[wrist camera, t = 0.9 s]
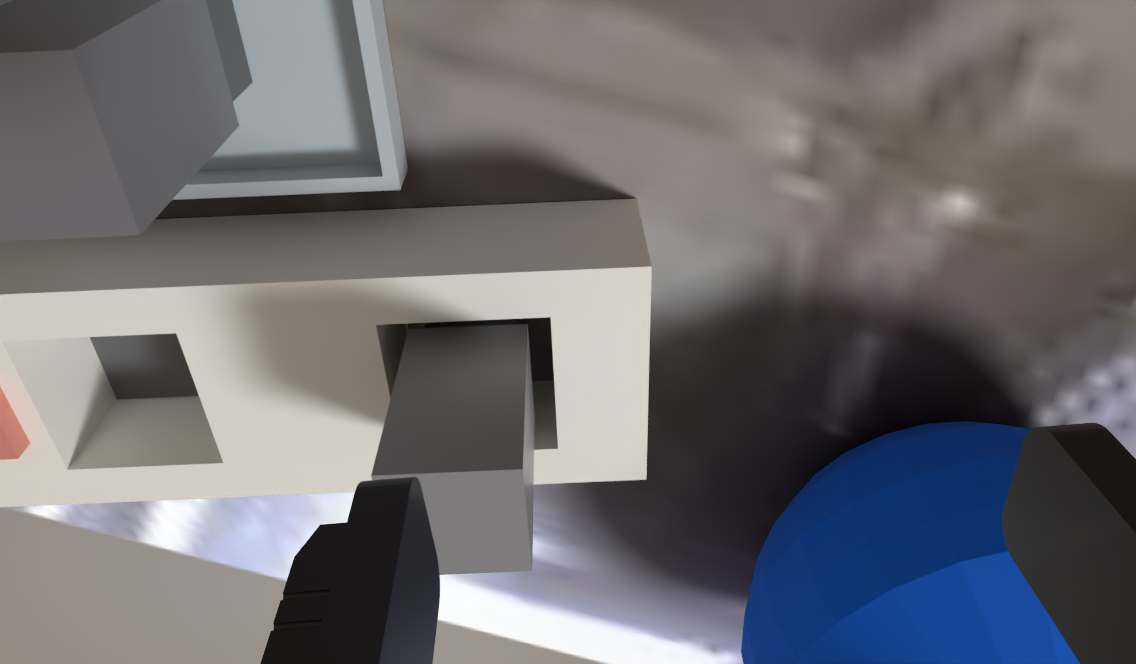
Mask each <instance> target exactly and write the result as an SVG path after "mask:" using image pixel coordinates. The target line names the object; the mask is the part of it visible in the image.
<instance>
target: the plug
mask: <svg viewBox="0 0 1136 664" xmlns="http://www.w3.org/2000/svg"><path fill="white" fill-rule="evenodd" d="M252 82H253V81H252V77H251V73H250V69H249V65H248V61H247V57H246V53H245V49H244V45H243V41H242V37H241V33H240V29H239V25H238V21H237V17H236V13H235V9H234V5H233V1H232V0H12V1H10V2H7V3H5V4H2V5H0V241H18V240H41V239H64V238H88V237H111V236H134V235H141V234H142V233H143V232H144V230H145V229H146V228H147V227H148V226H149V225H150V224H151V223H152V222H153V221H154V219H155V218H156V217H157V216H158V215H159V214H160V213H161V212H162V211H163V209H164V208H165V207H166V206H167V205H168V204H169V203H170V202H171V201H172V200H173V198H174V197H175V196H176V195H177V194H178V193H179V192H180V191H181V190H182V189H183V187H184V186H185V185H186V184H187V183H188V182H189V181H190V180H191V179H192V177H193V176H194V175H195V174H196V173H197V172H198V171H199V170H200V169H201V168H202V166H203V165H204V164H205V163H206V162H207V161H208V160H209V159H210V158H211V157H212V155H213V154H214V153H215V152H216V151H217V150H218V149H219V148H220V147H221V145H222V144H223V143H224V142H225V141H226V140H227V139H228V138H229V137H230V136H231V134H232V133H233V132H234V131H235V130H236V129H237V128H238V127H239V123H238V120H237V116H236V112H235V108H234V105H233V101H234V100H235V99H236V98H237V97H238V96H239V95H240V94H241V93H242V92H243V91H244V90H245V89H246V88H247V87H248V86H249V85H250V84H251V83H252Z"/></svg>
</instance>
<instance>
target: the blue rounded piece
mask: <svg viewBox="0 0 1136 664" xmlns="http://www.w3.org/2000/svg"><path fill="white" fill-rule="evenodd" d="M1030 430H1031V429H1027V428H1021V427H1014V426H1007V425H1001V424H991V423H981V422H972V421H961V422H945V423H929V424H923V425H919V426H915V427H911V428H907V429H903V430H900V431H896V432H892V433H888V434H884V435H882V436H880V437H878V438H875V439H873V440H871V441H869V442H867V443H865V444H862V445H860V446H858V447H856V448H854V449H851V450H849V451H847V452H845V453H844V454H843V455H841V456H840V457H838V458H837V459H836V460H834V461H833V462H831V463H830V464H829V465H827V466H826V467H825V468H823V469H822V470H820V471H819V472H818V473H816V474H815V475H814V476H813V477H812V478H811V479H810V480H809V481H808V483H807V484H806V485H805V486H804V487H803V488H802V489H801V490H800V492H799V493H798V494H797V495H796V496H795V497H794V498H793V499H792V501H791V502H790V503H789V505H788V506H787V507H786V509H785V510H784V512H783V513H782V514H781V516H780V517H779V518H778V520H777V521H776V522H775V524H774V525H773V527H772V529H771V531H770V533H769V535H768V537H767V539H766V542H765V544H764V546H763V548H762V550H761V552H760V554H759V556H758V558H757V562H756V567H755V571H754V575H753V580H752V584H751V589H750V593H749V598H748V602H747V607H746V611H745V616H744V627H743V638H742V649H741V653H742V658H743V663H744V664H1080V662H1079V661H1078V659H1077V658H1076V656H1075V655H1074V653H1073V652H1072V650H1071V649H1070V647H1069V646H1068V644H1067V642H1066V641H1065V639H1064V638H1063V636H1062V635H1061V633H1060V632H1059V630H1058V629H1057V627H1056V626H1055V624H1054V622H1053V621H1052V619H1051V618H1050V616H1049V615H1048V613H1047V612H1046V610H1045V609H1044V607H1043V606H1042V604H1041V602H1040V601H1039V599H1038V598H1037V596H1036V595H1035V593H1034V592H1033V590H1032V589H1031V587H1030V586H1029V584H1028V582H1027V581H1026V579H1025V578H1024V576H1023V575H1022V573H1021V572H1020V570H1019V569H1018V567H1017V565H1016V564H1015V562H1014V561H1013V559H1012V557H1011V555H1010V553H1009V551H1008V548H1007V546H1006V542H1005V539H1004V534H1003V527H1002V516H1003V510H1004V506H1005V503H1006V499H1007V496H1008V493H1009V489H1010V486H1011V482H1012V479H1013V476H1014V472H1015V469H1016V465H1017V462H1018V458H1019V455H1020V452H1021V448H1022V445H1023V441H1024V439H1025V436H1026V435H1027V433H1028V432H1029V431H1030Z"/></svg>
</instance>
